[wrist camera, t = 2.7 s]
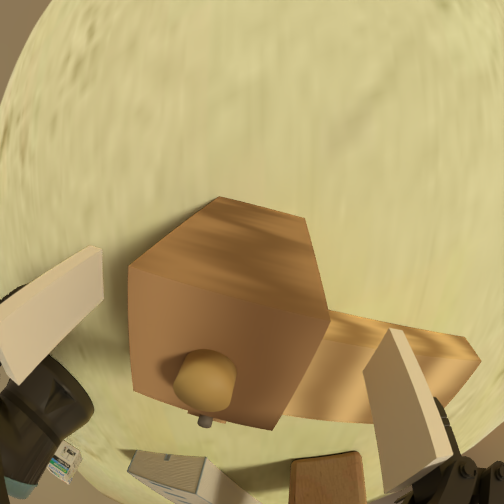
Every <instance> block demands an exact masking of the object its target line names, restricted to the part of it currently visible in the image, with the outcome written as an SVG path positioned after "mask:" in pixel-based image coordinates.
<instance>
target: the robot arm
mask: <svg viewBox="0 0 504 504" xmlns="http://www.w3.org/2000/svg"><path fill="white" fill-rule="evenodd" d="M103 300H104V292H103V268H102V249H100V248H97V247H94V246H91V245H89V246H88V247H86V248H84V249H82V250H81V251H79V252H77V253H76V254H74V255H73V256H71V257H69V258H68V259H66V260H64V261H63V262H61V263H60V264H58V265H56V266H55V267H53V268H52V269H50V270H49V271H47V272H46V273H44V274H43V275H41V276H40V277H38V278H37V279H35V280H34V281H32V282H31V283H29V284H25V285H23V286H20V287H17V288H16V289H14V290H13V291H12V292H10V293H9V295H6V296H5V297H3V298H2V300H1V299H0V366H1V365H2V366H3V368H4V370H5V372H6V374H7V376H8V377H10V379H9V382H8V384H7V386H6V387H5V388H4V390H3V391H2V392H1V393H0V504H10V502H9V498H8V495H10V496H12V497H14V498H17V499H26V498H27V497H28V496H29V495H30V494H31V492H32V491H33V489H34V488H35V487H37V485H38V481H39V480H40V478H41V476H42V474H43V473H44V471H45V469H46V467H47V466H48V464H49V462H50V461H51V459H52V457H53V456H54V454H55V452H56V451H57V449H58V447H59V446H60V444H61V443H62V441H63V440H64V439H65V438H66V437H68V436H69V435H71V434H72V433H74V432H75V431H76V430H78V429H79V428H81V427H82V426H83V425H85V424H86V423H87V422H88V421H89V420H90V418H91V416H92V415H93V413H94V407H93V404H92V402H91V400H90V398H89V396H88V395H87V393H86V392H85V391H84V389H83V388H82V387H81V386H80V384H79V383H78V382H77V381H76V380H75V379H74V378H73V377H72V375H71V374H70V373H69V372H68V371H67V370H65V369H64V368H63V367H62V366H61V365H60V364H59V363H58V362H57V361H55V360H54V359H53V358H51V357H50V356H49V355H48V354H49V353H50V352H51V351H52V350H53V349H54V348H55V347H56V346H57V344H58V343H59V342H60V341H61V340H62V339H63V338H64V337H65V336H66V335H67V334H68V333H69V332H70V331H71V330H72V329H73V328H75V327H76V326H77V325H78V324H79V323H80V322H81V321H82V320H83V319H84V318H85V317H86V316H87V315H88V314H89V313H90V312H91V311H92V310H93V309H94V308H95V307H96V306H97V305H99V304H100V303H101V302H102V301H103ZM362 372H363V376H364V381H365V385H366V389H367V394H368V398H369V403H370V408H371V413H372V418H373V423H374V428H375V434H376V440H377V445H378V452H379V458H380V465H381V472H382V479H383V487H384V494H385V493H392V492H399V491H402V490H404V489H406V488H407V487H409V486H410V485H412V488H413V490H412V491H410V492H409V493H407V494H405V495H404V496H402V497H400V498H398V499H397V500H396V501H395V502H394V503H398V502H400V501H402V500H404V501H403V503H401V504H504V463H503V462H501V461H496V462H495V463H493V464H492V465H491V466H490V467H488V468H487V469H486V468H477V466H476V464H475V462H474V461H473V460H472V459H471V458H469V457H466V456H464V457H462V456H461V454H460V451H459V448H458V445H457V442H456V439H455V436H454V434H453V431H452V428H451V426H450V423H449V420H448V418H446V417H447V415H446V412H445V410H444V407H443V405H442V404H441V403H440V402H439V400H438V399H437V398H436V397H433V396H432V394H431V391H430V389H429V387H428V384H427V382H426V380H425V377H424V375H423V373H422V370H421V368H420V366H419V364H418V362H417V359H416V357H415V355H414V353H413V351H412V349H411V347H410V345H409V343H408V340H407V338H406V336H405V334H404V332H403V330H398V329H393V328H389V329H388V330H387V332H386V334H385V336H384V337H383V339H382V341H381V343H380V344H379V346H378V348H377V349H376V351H375V352H374V354H373V356H372V357H371V359H370V360H369V362H368V364H367V365H366V367H365V368H364V370H363V371H362Z"/></svg>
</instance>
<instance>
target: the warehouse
mask: <svg viewBox="0 0 504 504" xmlns="http://www.w3.org/2000/svg"><path fill="white" fill-rule="evenodd" d="M127 472H128V473H129V474H131V475H132V476H133V477H135V478H136V479H138V480H139V481H141V482H142V483H143V484H145V485H146V486H148V487H149V488H151V489H152V490H154V491H156V492H157V493H159V494H160V495H162V496H163V497H165V498H167V499H168V500H170V501H172V502H174V503H175V504H262V503H261V502H259V501H258V500H256V499H255V498H254V497H252V496H251V495H250V494H249V493H247V492H246V491H245V490H243V489H242V488H241V487H240V486H238V485H237V484H236V483H235V482H234V481H232V480H231V479H230V478H229V477H228V476H226V475H225V474H224V473H223V472H222V471H221V470H220V469H218V468H217V467H216V466H215V465H214V464H213V463H212V462H211V461H210V460H209V459H208V458H207V457H195V456H181V455H167V454H161V453H153V452H146V451H140V450H136V452H135V454H134V456H133V458H132V461H131V463H130V465H129V467H128V470H127Z"/></svg>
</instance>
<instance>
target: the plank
mask: <svg viewBox="0 0 504 504" xmlns="http://www.w3.org/2000/svg"><path fill="white" fill-rule="evenodd" d="M328 311H329V315H330V320H331V322H330V324H329V326H328V329H327V331H326V333H325V335H324V337H323V339H322V341H321V343H320V345H319V347H318V349H317V351H316V353H315V355H314V357H313V359H312V361H311V363H310V365H309V367H308V369H307V371H306V373H305V375H304V376H303V378H302V380H301V382H300V384H299V386H298V388H297V389H296V391H295V393H294V395H293V397H292V398H291V400H290V402H289V404H288V405H287V407H286V409H285V410H284V412H283V414H282V415H288V416H294V417H301V418H308V419H317V420H326V421H336V422H349V423H367V424H374V423H373V418H372V413H371V408H370V403H369V398H368V394H367V389H366V385H365V381H364V376H363V372H362V371H363V370H364V368H365V367H366V365H367V364H368V362H369V360H370V359H371V357H372V356H373V354H374V352H375V351H376V349H377V348H378V346H379V344H380V343H381V341H382V339H383V337H384V336H385V334H386V332H387V330H388V329H389V328H393V329H398V330H403V332H404V334H405V336H406V338H407V340H408V343H409V345H410V347H411V349H412V351H413V353H414V355H415V357H416V359H417V362H418V364H419V366H420V368H421V370H422V373H423V375H424V377H425V380H426V382H427V384H428V387H429V389H430V391H431V394H432V396H433V397H436V398H437V399H438V400H439V402H440V403H441V404H442V405H443V407H444V408H445V407H446V406H447V404H448V403H449V402H450V401H451V400H452V399H453V398H454V396H455V395H456V394H457V393H458V392H459V390H460V389H461V388H462V387H463V385H464V384H465V383H466V382H467V380H468V379H469V378H470V377H471V375H472V374H473V373H474V371H475V370H476V368H477V367H478V366H479V364H480V363H481V360H480V358H479V357H478V355H477V354H476V352H475V351H474V350H473V348H472V347H471V345H470V344H469V342H468V341H467V340H466V338H465V337H461V336H455V335H449V334H444V333H438V332H432V331H427V330H422V329H416V328H411V327H406V326H401V325H396V324H391V323H386V322H381V321H377V320H372V319H367V318H363V317H358V316H353V315H349V314H344V313H340V312H336V311H331V310H328Z"/></svg>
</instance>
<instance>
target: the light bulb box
mask: <svg viewBox="0 0 504 504" xmlns="http://www.w3.org/2000/svg"><path fill="white" fill-rule="evenodd" d="M81 461H82V458H81V454H80V451H79V450H78V449H76V448H75V447H73V446H72V445H70V444H69V443H67V442H66V441H64V440H63V441H62V443H61V444H60V446H59V447H58V449H57V451H56V452H55V454H54V456H53V457H52V459H51V461H50V462H49V464H48V466H47V469H48V470H49V471H50V472H51V473H52V474H54V475H55V476H56V477H58V478H59V479H61V480H62V481H64V482H65V483H67V484H68V485H69V484H70V482H71V480H72V478H73V476H74V474H75V472H76V470H77V469H78V467H79V465H80V463H81Z"/></svg>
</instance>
